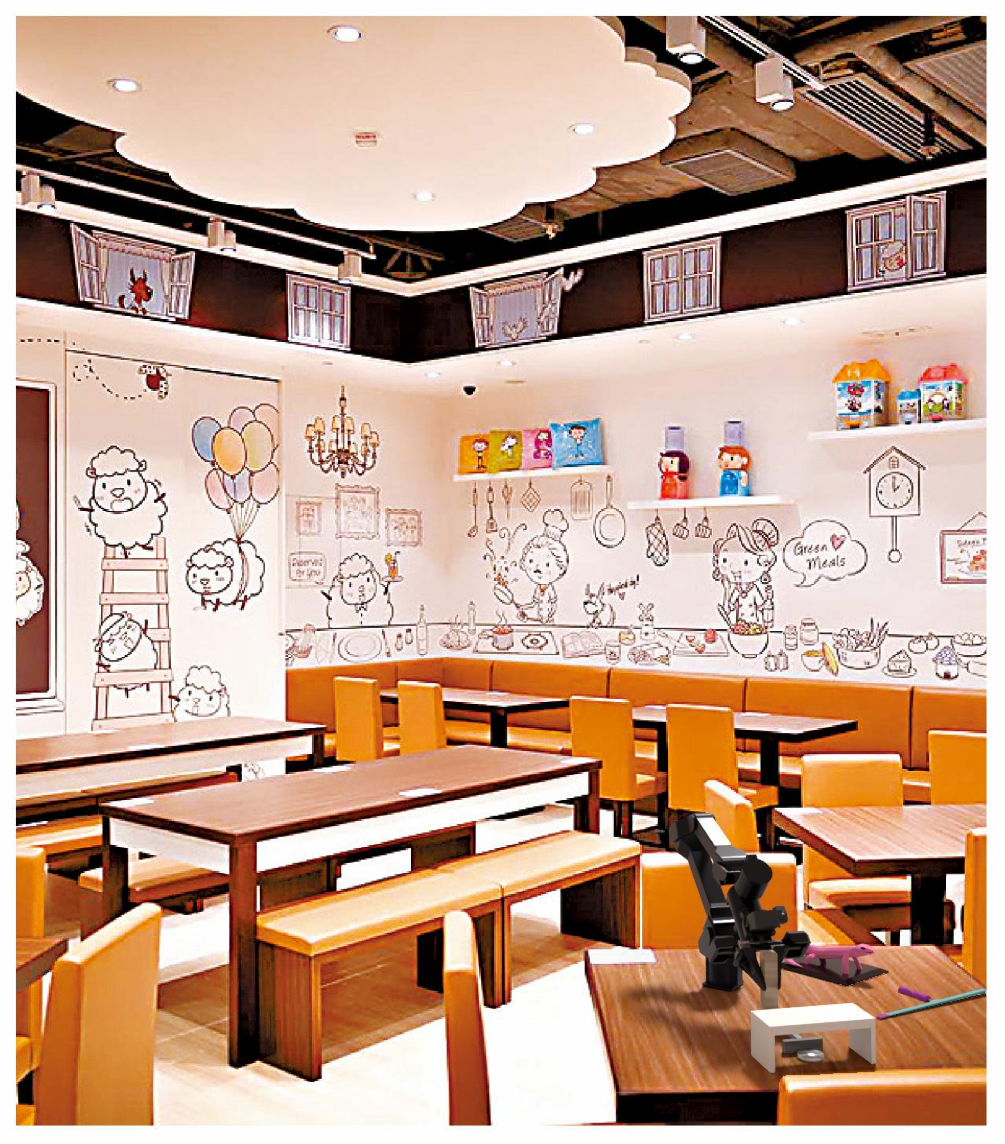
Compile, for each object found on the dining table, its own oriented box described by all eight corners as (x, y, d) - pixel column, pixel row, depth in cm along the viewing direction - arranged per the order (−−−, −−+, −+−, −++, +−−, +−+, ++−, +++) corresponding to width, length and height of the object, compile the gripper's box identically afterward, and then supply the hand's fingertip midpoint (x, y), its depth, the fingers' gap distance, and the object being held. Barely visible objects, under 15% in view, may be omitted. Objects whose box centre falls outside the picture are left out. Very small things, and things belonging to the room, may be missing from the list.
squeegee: (946, 974, 246) (987, 988, 238) (947, 983, 246) (987, 997, 238) (841, 1000, 233) (880, 1016, 224) (841, 1009, 233) (881, 1025, 224)
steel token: (793, 1060, 205) (793, 1054, 205) (802, 1052, 209) (802, 1046, 209) (818, 1066, 203) (818, 1060, 203) (827, 1057, 206) (827, 1052, 206)
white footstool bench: (751, 1055, 207) (750, 1010, 207) (853, 1046, 210) (852, 1003, 211) (770, 1072, 199) (769, 1026, 199) (876, 1063, 203) (875, 1018, 203)
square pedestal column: (747, 1021, 224) (746, 950, 224) (782, 1018, 225) (781, 947, 225) (784, 1053, 207) (783, 976, 208) (823, 1050, 209) (821, 974, 209)
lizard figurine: (853, 991, 242) (852, 954, 242) (772, 968, 258) (772, 933, 258) (894, 977, 251) (894, 941, 252) (814, 955, 267) (814, 922, 267)
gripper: (711, 893, 225) (735, 970, 214) (805, 887, 229) (833, 963, 218) (697, 924, 233) (719, 1001, 221) (788, 919, 236) (814, 994, 225)
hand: (772, 989), depth 221 cm, fingers closed on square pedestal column, 2 cm apart
